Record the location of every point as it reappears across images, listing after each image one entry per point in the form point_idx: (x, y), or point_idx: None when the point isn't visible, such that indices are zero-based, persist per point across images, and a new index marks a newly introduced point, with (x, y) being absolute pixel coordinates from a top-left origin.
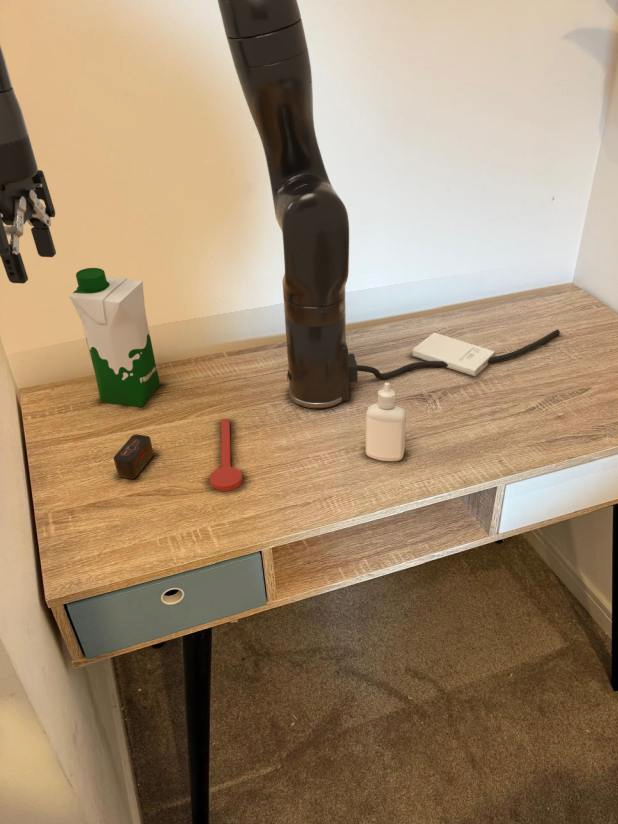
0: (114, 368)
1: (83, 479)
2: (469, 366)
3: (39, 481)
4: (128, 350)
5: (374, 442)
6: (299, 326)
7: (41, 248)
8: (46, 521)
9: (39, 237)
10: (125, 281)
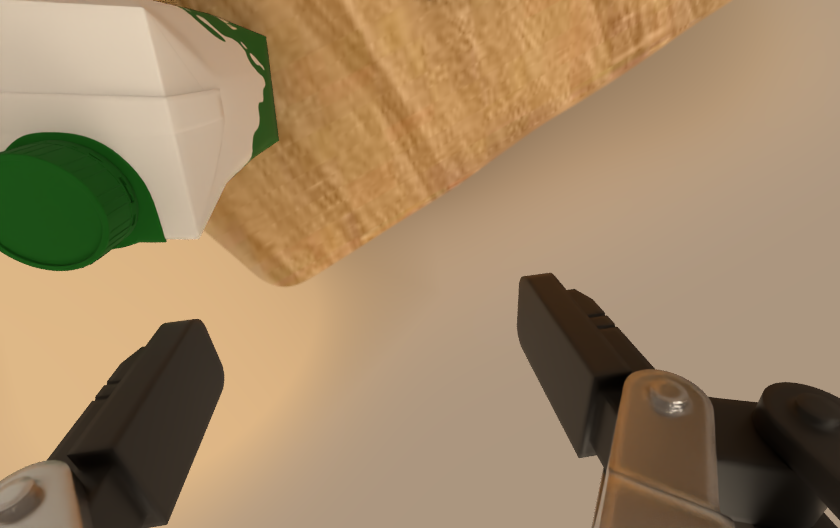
0: (260, 85)
1: (523, 48)
2: None
3: (532, 126)
4: (215, 37)
5: None
6: None
7: (204, 391)
8: (633, 57)
9: (172, 443)
10: None
